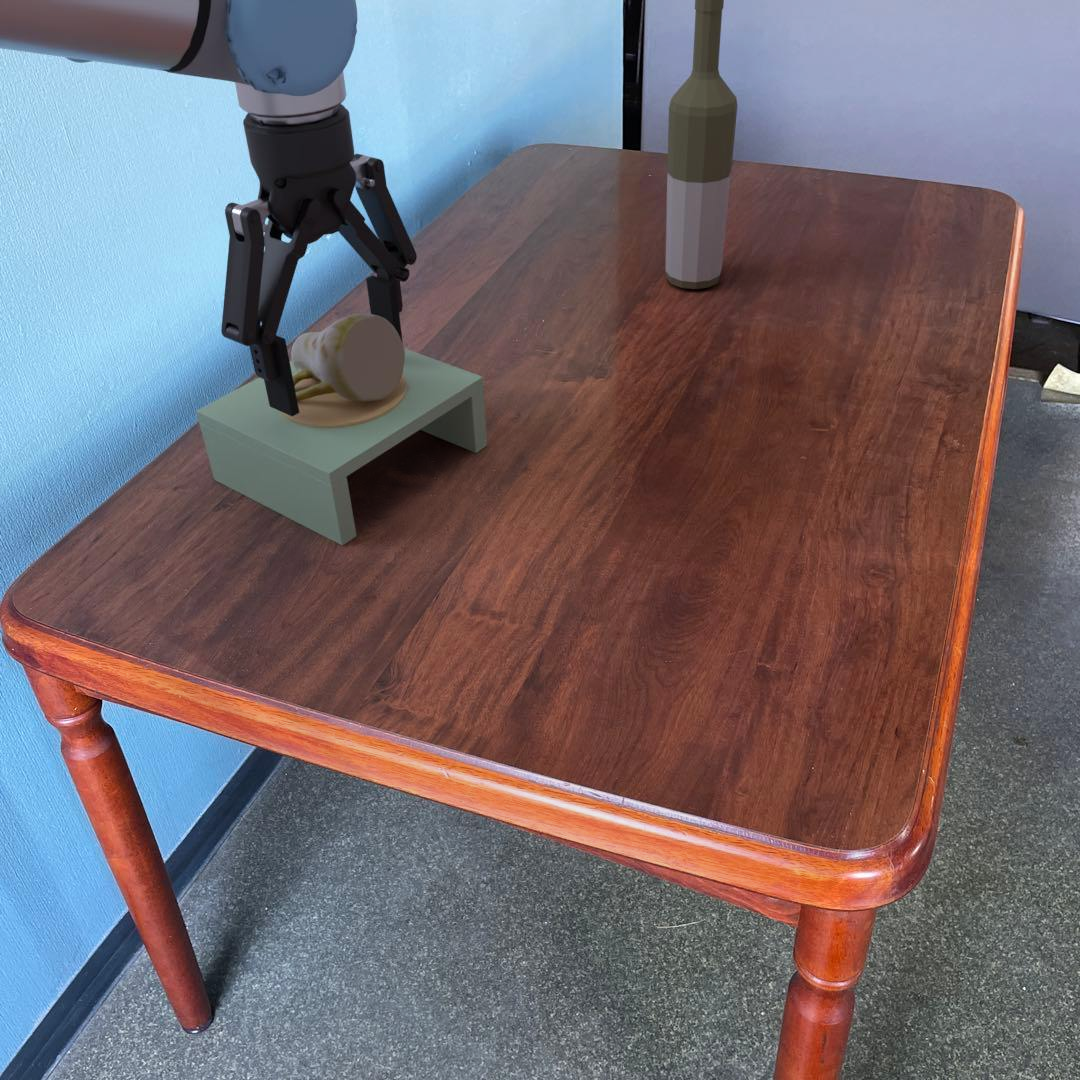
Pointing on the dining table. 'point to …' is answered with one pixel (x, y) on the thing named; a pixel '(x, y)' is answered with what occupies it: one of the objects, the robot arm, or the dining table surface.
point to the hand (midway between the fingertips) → (339, 379)
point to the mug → (350, 359)
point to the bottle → (700, 160)
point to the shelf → (333, 439)
